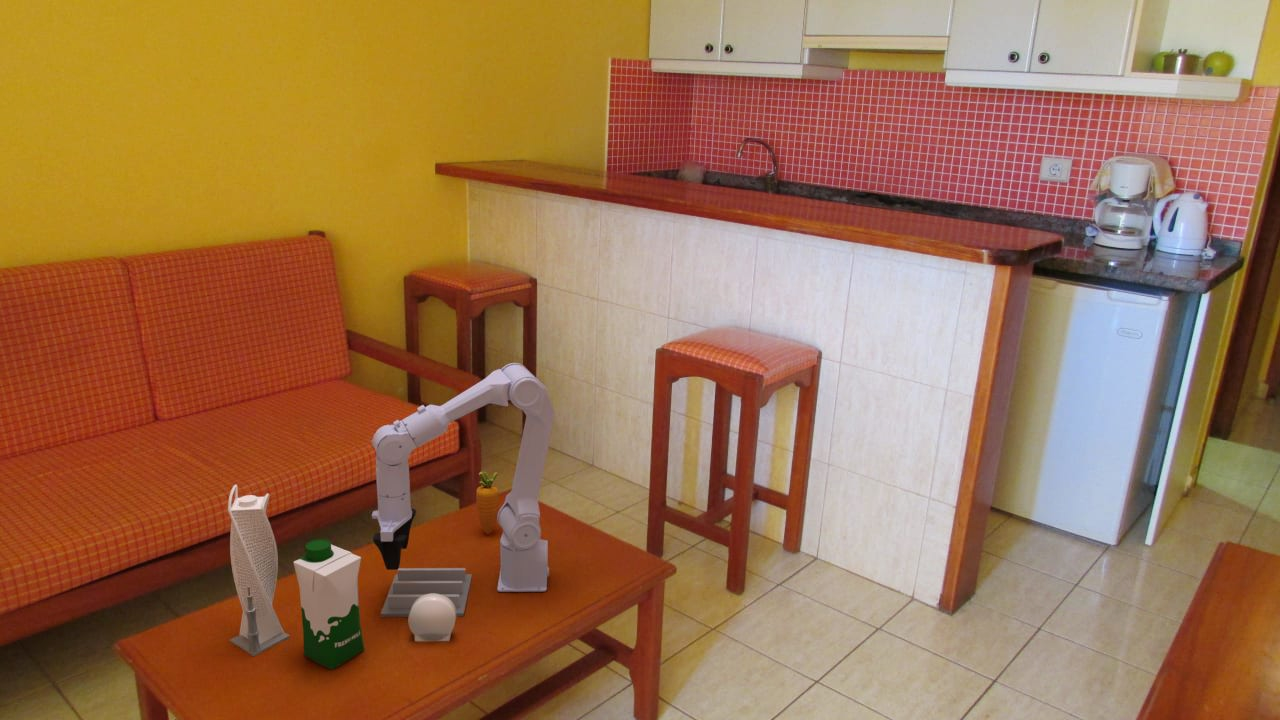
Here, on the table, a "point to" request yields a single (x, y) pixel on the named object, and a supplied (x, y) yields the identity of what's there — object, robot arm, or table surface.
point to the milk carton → (329, 603)
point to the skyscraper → (254, 573)
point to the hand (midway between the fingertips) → (397, 558)
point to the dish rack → (426, 588)
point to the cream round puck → (432, 618)
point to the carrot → (487, 502)
